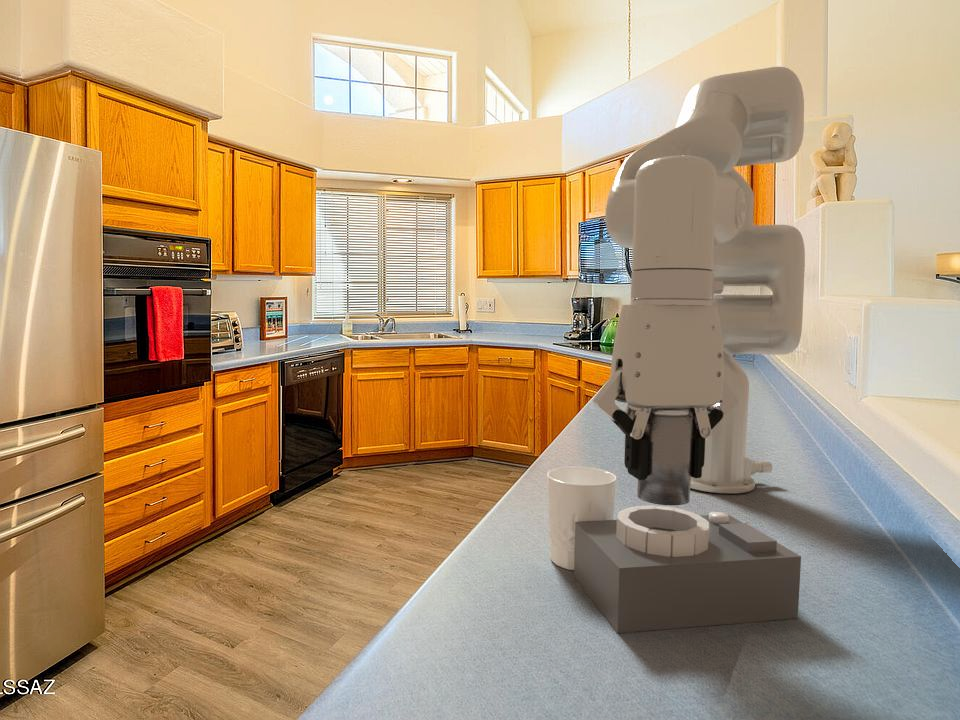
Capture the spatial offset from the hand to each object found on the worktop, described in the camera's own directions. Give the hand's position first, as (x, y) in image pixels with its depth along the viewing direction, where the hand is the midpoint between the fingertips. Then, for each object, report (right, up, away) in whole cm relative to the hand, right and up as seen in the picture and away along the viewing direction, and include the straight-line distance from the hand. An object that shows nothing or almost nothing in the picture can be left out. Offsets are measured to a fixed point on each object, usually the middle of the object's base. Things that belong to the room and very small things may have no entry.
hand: (663, 473), depth 60 cm
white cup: (-7, -12, +10) cm, 17 cm away
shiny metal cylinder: (0, -2, 0) cm, 2 cm away
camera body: (+2, -13, +2) cm, 13 cm away
